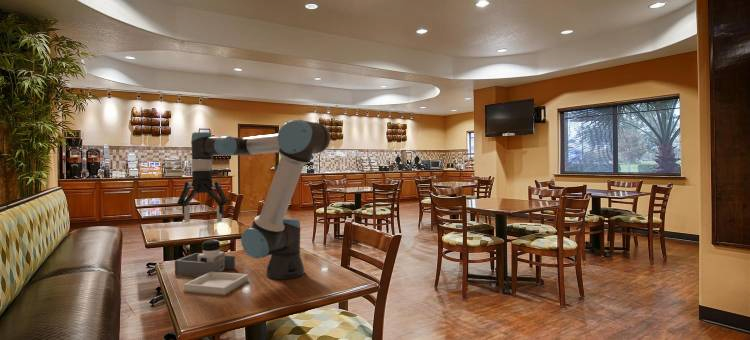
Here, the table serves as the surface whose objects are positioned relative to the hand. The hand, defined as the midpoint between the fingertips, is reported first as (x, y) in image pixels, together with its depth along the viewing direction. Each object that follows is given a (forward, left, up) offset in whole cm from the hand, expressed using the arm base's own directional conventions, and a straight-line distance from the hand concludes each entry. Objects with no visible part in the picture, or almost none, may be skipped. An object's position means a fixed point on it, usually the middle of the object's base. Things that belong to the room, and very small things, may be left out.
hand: (203, 221), depth 162 cm
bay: (0, -2, -21) cm, 21 cm away
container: (-2, -2, -21) cm, 21 cm away
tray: (-15, +14, -21) cm, 29 cm away
